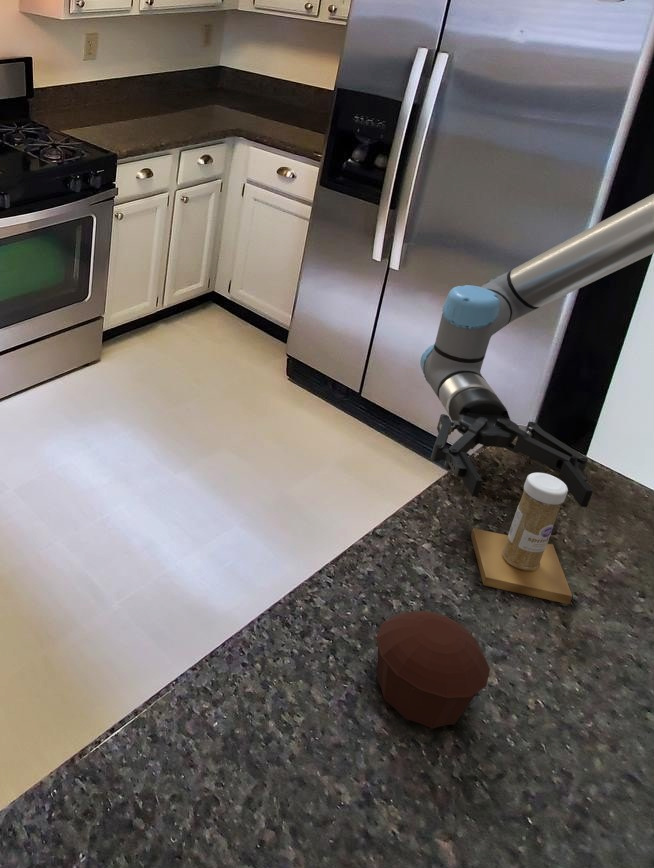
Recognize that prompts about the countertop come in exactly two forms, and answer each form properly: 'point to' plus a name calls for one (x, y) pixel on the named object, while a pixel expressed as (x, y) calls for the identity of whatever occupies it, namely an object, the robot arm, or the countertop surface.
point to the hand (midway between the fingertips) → (531, 494)
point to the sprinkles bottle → (534, 521)
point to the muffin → (429, 667)
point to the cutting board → (519, 570)
